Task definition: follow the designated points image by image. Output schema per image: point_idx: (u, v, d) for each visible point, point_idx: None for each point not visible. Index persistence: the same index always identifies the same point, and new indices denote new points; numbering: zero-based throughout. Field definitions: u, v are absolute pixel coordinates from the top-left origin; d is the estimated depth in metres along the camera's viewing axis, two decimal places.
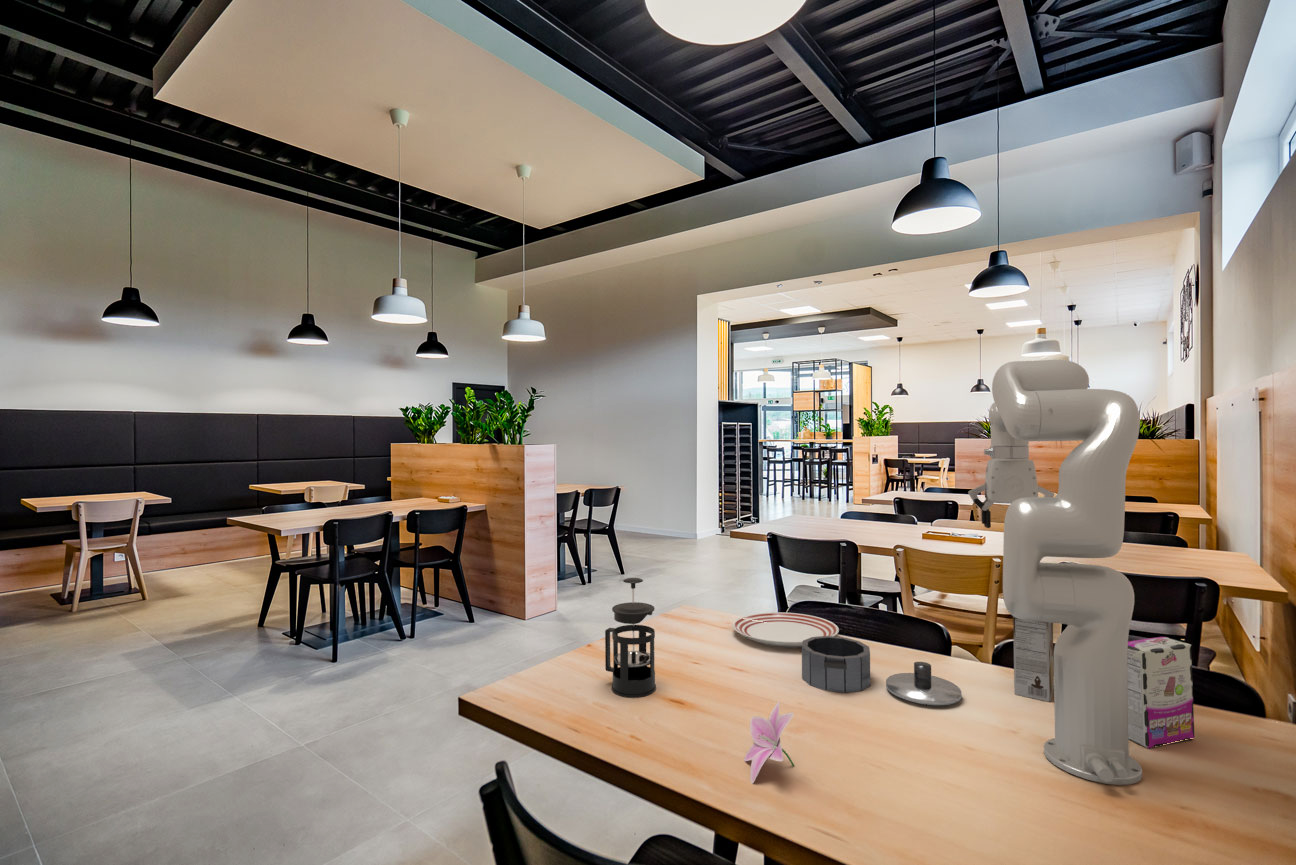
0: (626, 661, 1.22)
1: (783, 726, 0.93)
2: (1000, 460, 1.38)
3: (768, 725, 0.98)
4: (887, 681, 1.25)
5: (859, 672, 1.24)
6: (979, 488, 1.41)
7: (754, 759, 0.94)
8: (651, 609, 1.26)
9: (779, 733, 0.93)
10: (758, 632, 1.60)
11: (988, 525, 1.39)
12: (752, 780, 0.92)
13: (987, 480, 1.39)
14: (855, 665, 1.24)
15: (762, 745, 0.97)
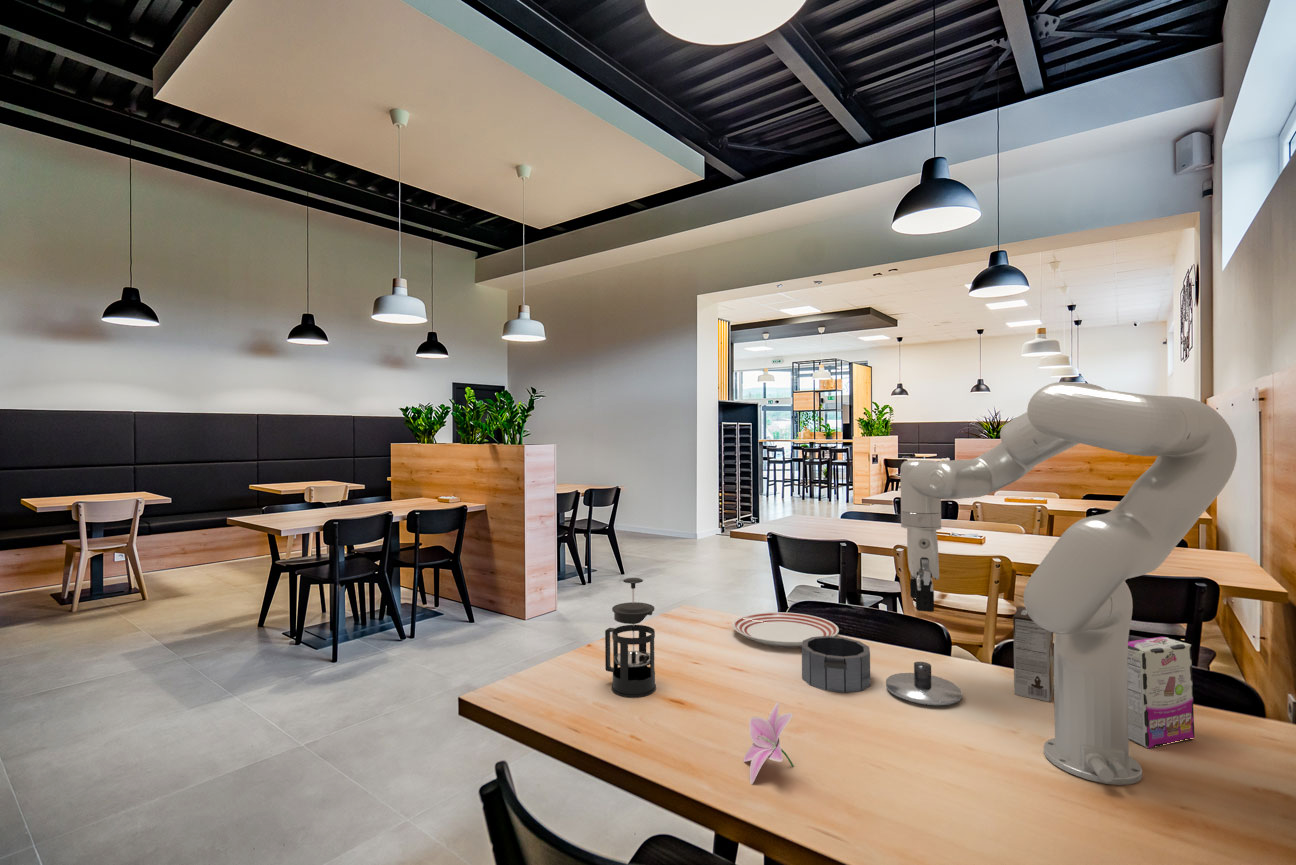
0: (626, 661, 1.22)
1: (782, 726, 0.93)
2: (937, 529, 1.20)
3: (767, 725, 0.97)
4: (887, 681, 1.25)
5: (859, 672, 1.24)
6: None
7: (753, 759, 0.94)
8: (651, 609, 1.26)
9: (778, 733, 0.93)
10: (758, 632, 1.60)
11: (933, 608, 1.18)
12: (751, 780, 0.91)
13: (932, 555, 1.18)
14: (855, 665, 1.24)
15: (761, 746, 0.96)
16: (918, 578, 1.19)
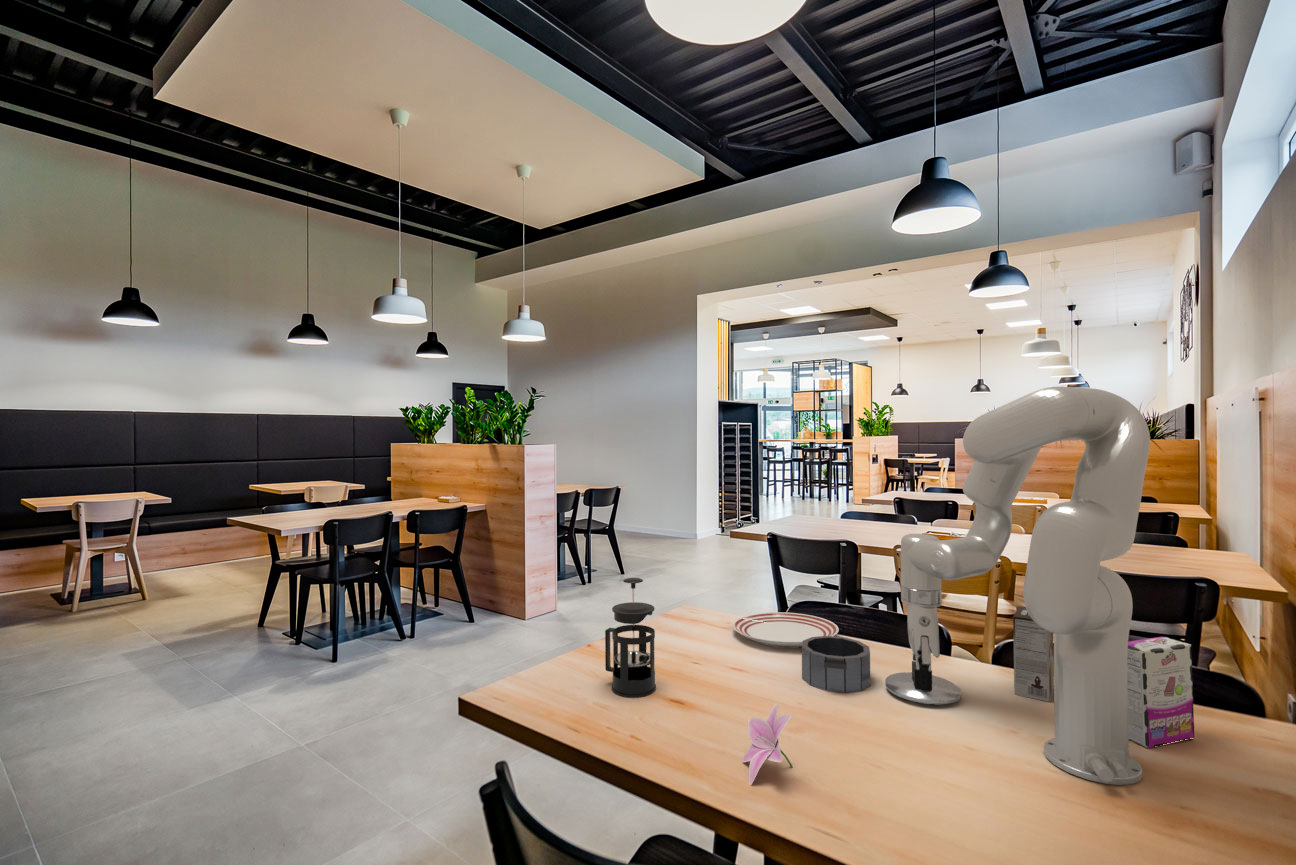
0: (626, 661, 1.22)
1: (781, 727, 0.92)
2: (937, 606, 1.20)
3: (766, 726, 0.97)
4: (886, 680, 1.25)
5: (859, 672, 1.24)
6: (928, 650, 1.17)
7: (752, 760, 0.94)
8: (651, 609, 1.26)
9: (777, 734, 0.93)
10: (758, 632, 1.60)
11: None
12: (750, 781, 0.91)
13: (932, 633, 1.18)
14: (855, 665, 1.24)
15: (760, 746, 0.96)
16: (917, 659, 1.20)
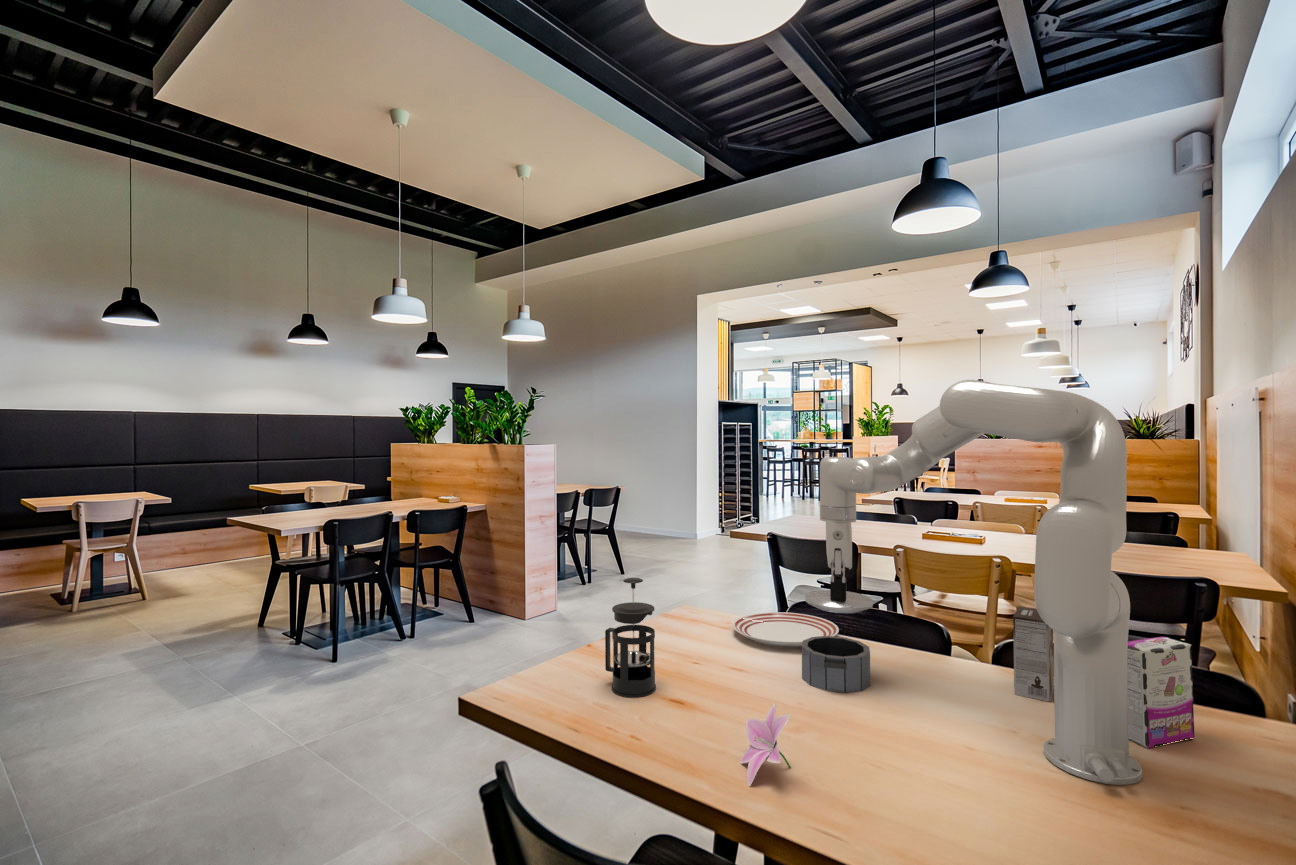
0: (626, 661, 1.22)
1: (780, 728, 0.92)
2: None
3: (764, 727, 0.97)
4: (806, 595, 1.33)
5: (859, 672, 1.24)
6: (840, 562, 1.25)
7: (751, 761, 0.94)
8: (651, 609, 1.26)
9: (776, 735, 0.92)
10: (758, 632, 1.60)
11: None
12: (749, 782, 0.91)
13: (844, 546, 1.25)
14: (855, 665, 1.24)
15: (758, 747, 0.96)
16: (832, 571, 1.28)
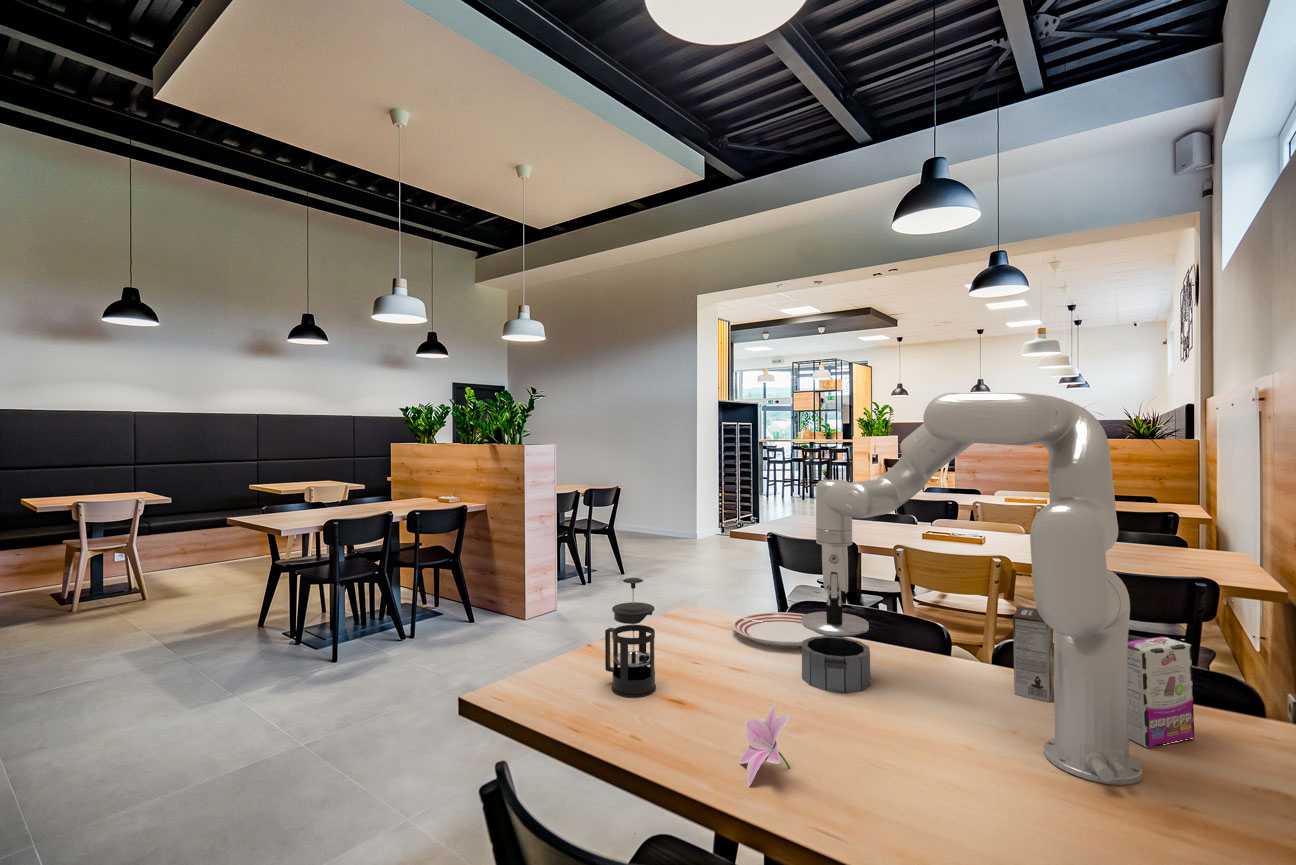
0: (626, 661, 1.22)
1: (779, 728, 0.92)
2: (847, 545, 1.28)
3: (763, 727, 0.97)
4: (803, 617, 1.33)
5: (859, 672, 1.24)
6: (837, 586, 1.25)
7: (750, 762, 0.94)
8: (651, 609, 1.26)
9: (775, 735, 0.92)
10: (758, 632, 1.60)
11: None
12: (748, 783, 0.91)
13: (840, 569, 1.26)
14: (855, 665, 1.24)
15: (757, 748, 0.96)
16: (828, 595, 1.28)
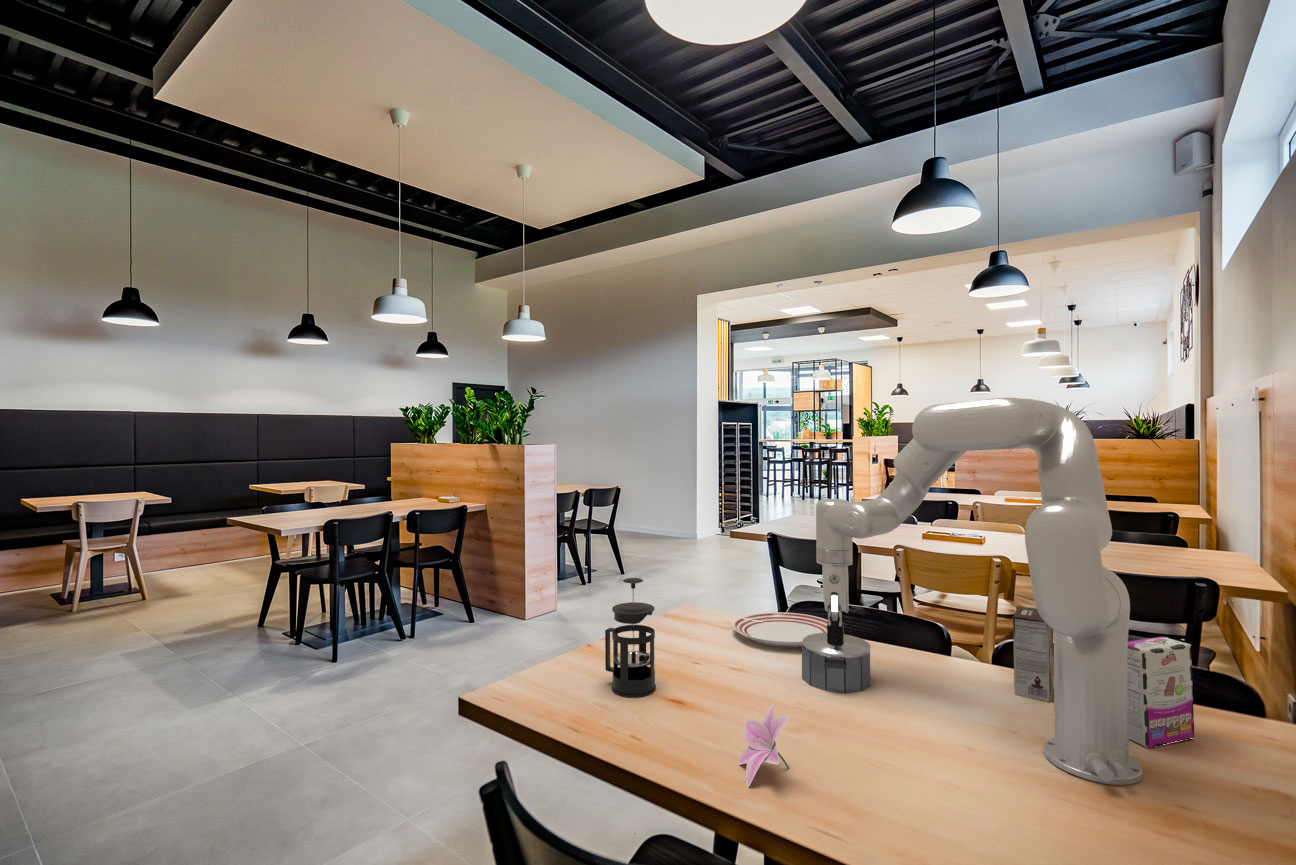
0: (626, 661, 1.22)
1: (779, 729, 0.92)
2: (847, 565, 1.28)
3: (762, 728, 0.97)
4: (804, 639, 1.33)
5: (859, 672, 1.24)
6: (837, 604, 1.25)
7: (749, 762, 0.94)
8: (651, 609, 1.26)
9: (774, 736, 0.92)
10: (758, 632, 1.60)
11: None
12: (747, 784, 0.91)
13: (841, 590, 1.26)
14: (855, 665, 1.24)
15: (756, 748, 0.96)
16: (829, 614, 1.27)
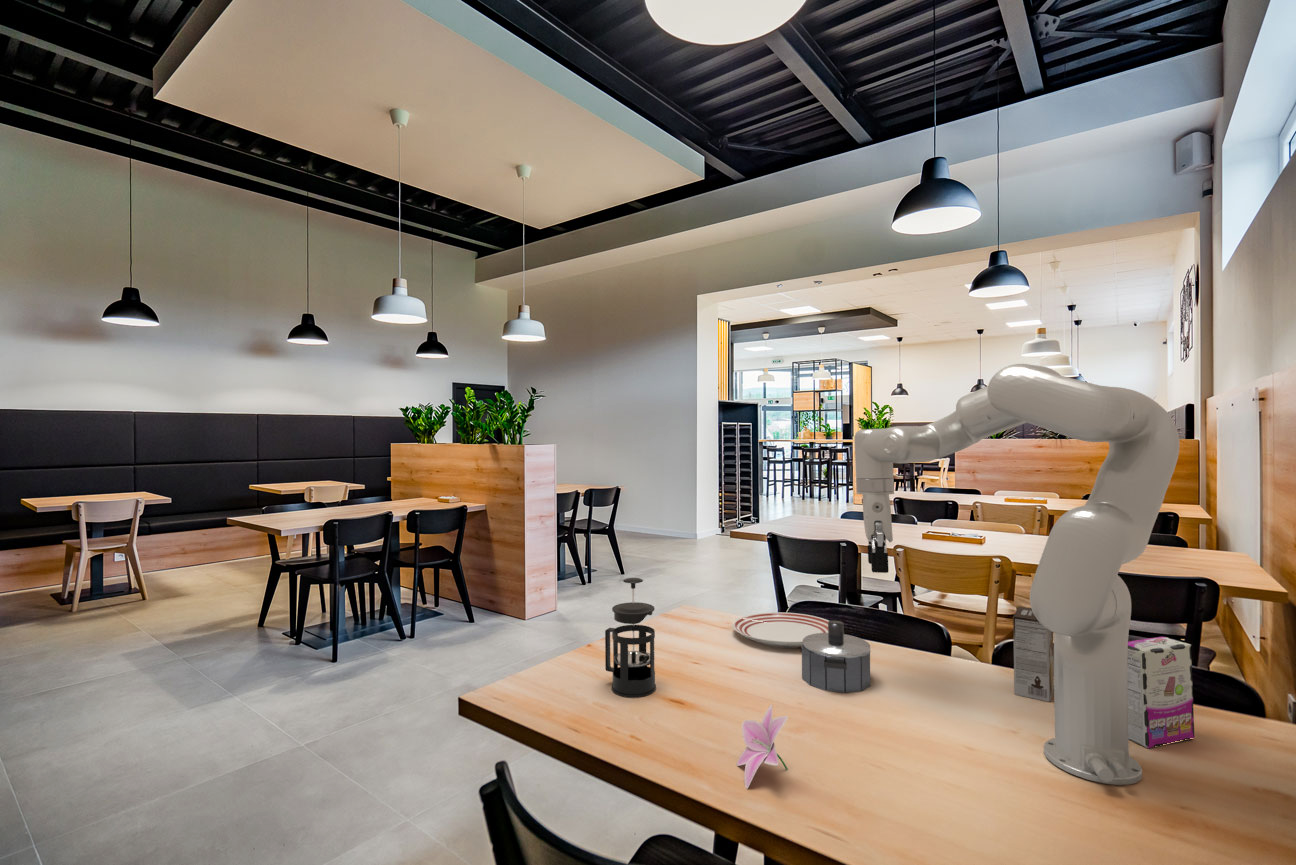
0: (626, 661, 1.22)
1: (777, 729, 0.92)
2: None
3: (761, 729, 0.96)
4: (804, 639, 1.33)
5: (859, 672, 1.24)
6: (882, 528, 1.21)
7: (748, 764, 0.93)
8: (651, 609, 1.26)
9: (773, 737, 0.92)
10: (758, 632, 1.60)
11: None
12: (746, 785, 0.90)
13: (885, 518, 1.23)
14: (855, 665, 1.24)
15: (755, 749, 0.95)
16: (873, 541, 1.23)
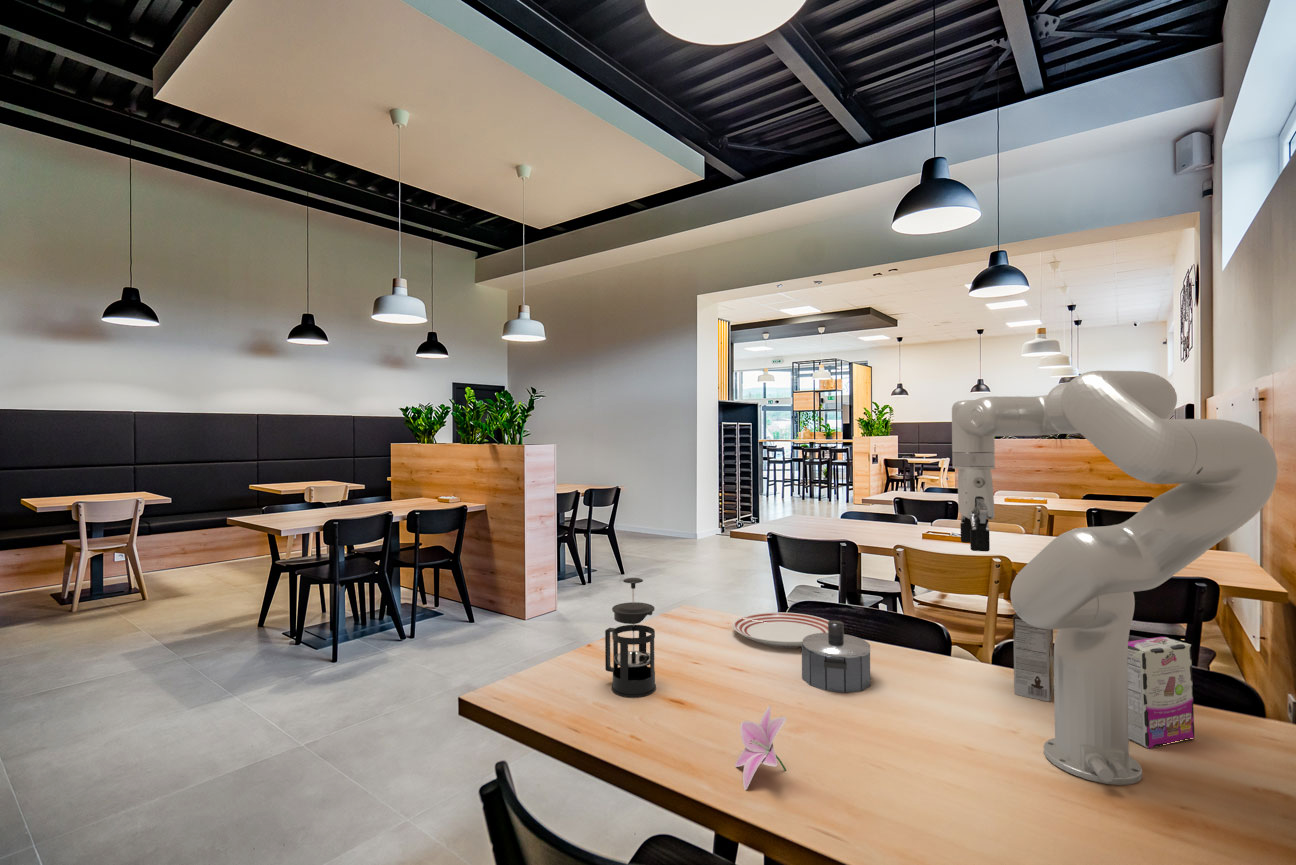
0: (626, 661, 1.22)
1: (776, 730, 0.91)
2: None
3: (759, 729, 0.96)
4: (804, 639, 1.33)
5: (859, 672, 1.24)
6: None
7: (746, 765, 0.93)
8: (651, 609, 1.26)
9: (772, 738, 0.91)
10: (758, 632, 1.60)
11: (989, 548, 1.16)
12: (745, 786, 0.90)
13: (987, 494, 1.16)
14: (855, 665, 1.24)
15: (753, 750, 0.95)
16: (973, 518, 1.17)
